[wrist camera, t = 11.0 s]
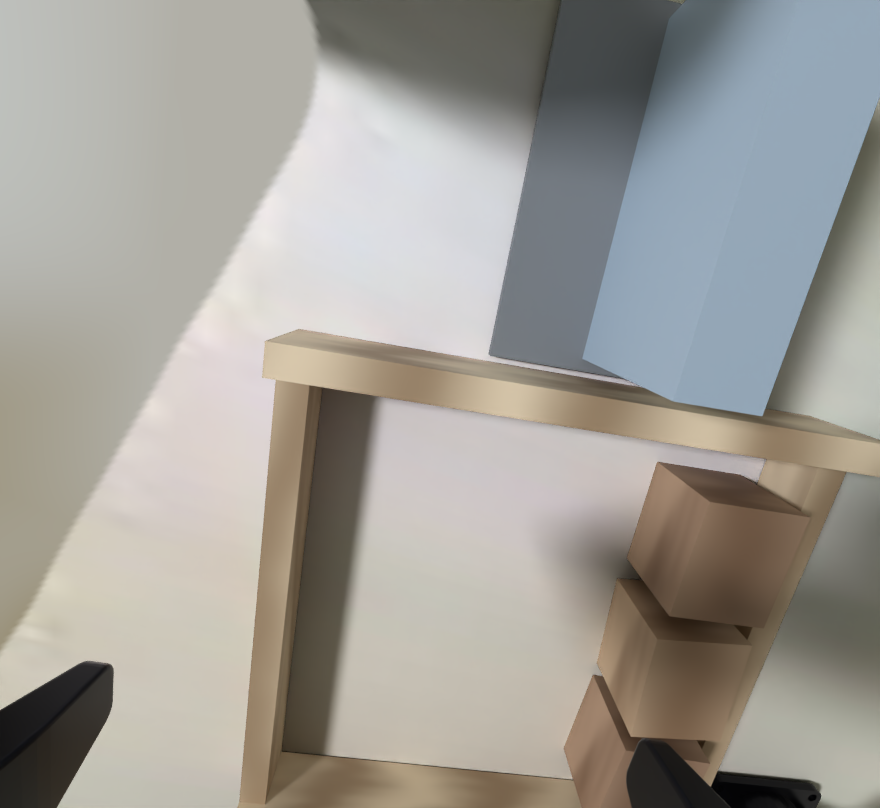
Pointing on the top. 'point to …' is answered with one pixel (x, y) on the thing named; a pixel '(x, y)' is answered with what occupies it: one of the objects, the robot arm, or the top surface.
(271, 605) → the frame
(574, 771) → the offcut
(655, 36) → the mat
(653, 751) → the robot arm
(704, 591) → the offcut
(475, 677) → the top surface
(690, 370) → the light blue rectangular panel
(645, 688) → the offcut
